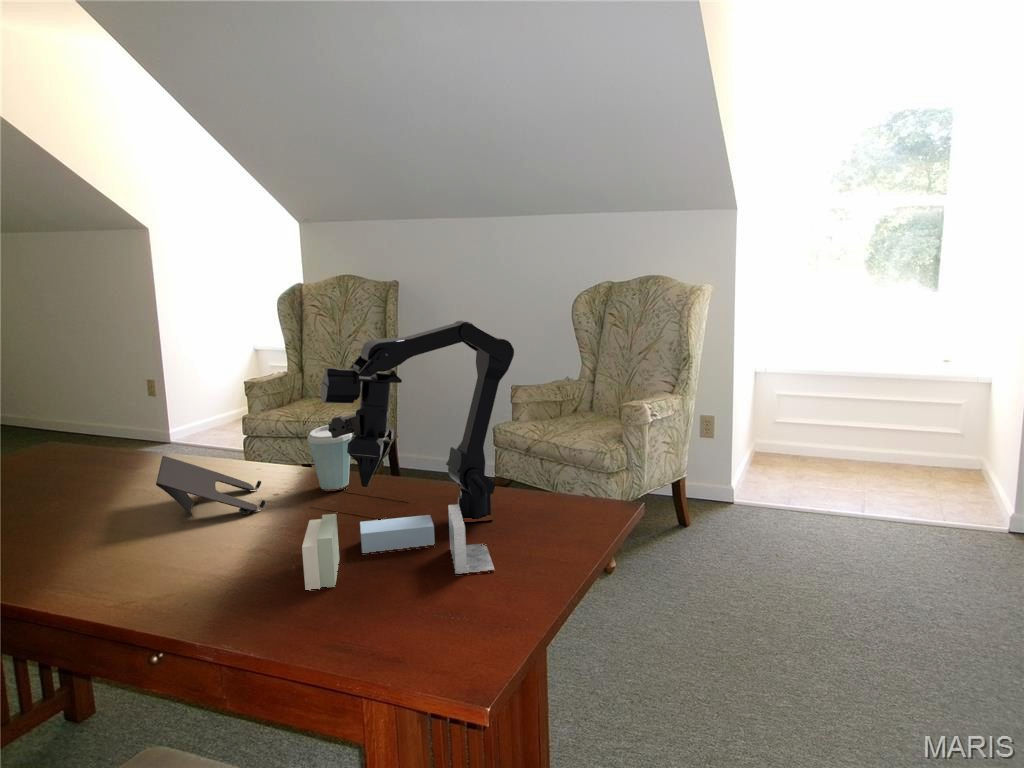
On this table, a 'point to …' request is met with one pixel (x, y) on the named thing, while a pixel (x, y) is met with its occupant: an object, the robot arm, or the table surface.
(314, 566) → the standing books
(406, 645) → the table surface
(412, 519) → the light blue rectangular block
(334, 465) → the disposable coffee cup
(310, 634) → the table surface
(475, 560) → the l-shaped bookend
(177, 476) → the portable electronic device stand
